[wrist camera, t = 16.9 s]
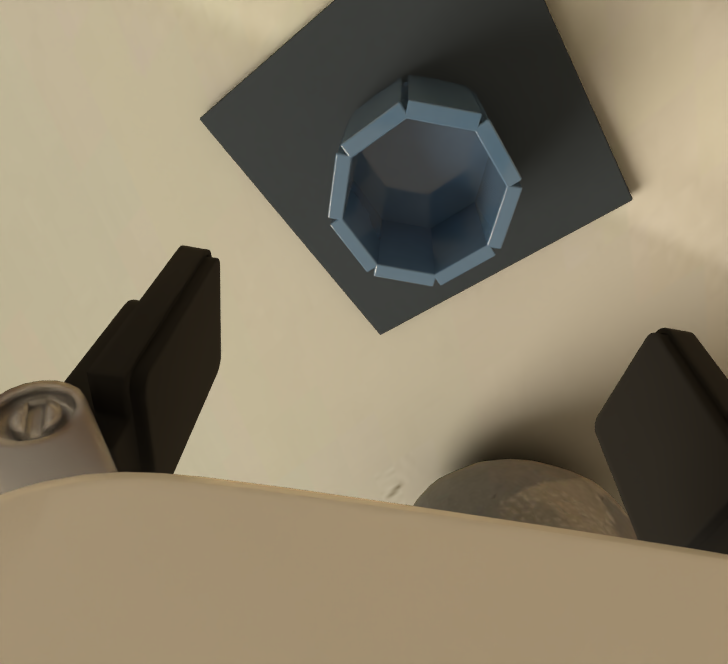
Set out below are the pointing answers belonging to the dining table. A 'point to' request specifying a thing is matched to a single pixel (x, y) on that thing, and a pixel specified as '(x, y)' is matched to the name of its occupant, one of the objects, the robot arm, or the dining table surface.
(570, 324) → the dining table surface
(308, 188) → the mat
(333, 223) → the bowl small
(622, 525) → the bowl
